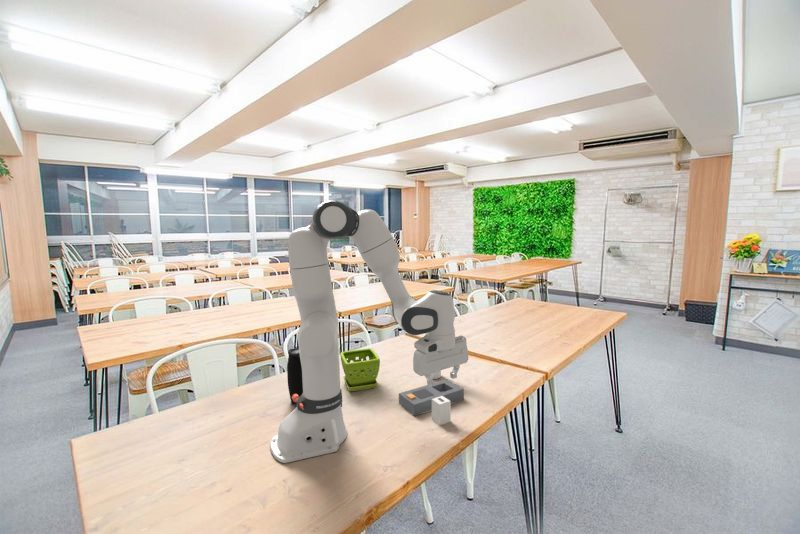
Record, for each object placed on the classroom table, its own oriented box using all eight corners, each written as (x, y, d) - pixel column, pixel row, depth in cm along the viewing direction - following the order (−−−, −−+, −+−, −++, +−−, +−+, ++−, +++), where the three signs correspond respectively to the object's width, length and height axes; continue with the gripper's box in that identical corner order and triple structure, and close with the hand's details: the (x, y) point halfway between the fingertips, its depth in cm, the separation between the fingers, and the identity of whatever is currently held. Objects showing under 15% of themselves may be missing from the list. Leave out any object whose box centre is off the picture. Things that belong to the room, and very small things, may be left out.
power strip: (414, 415, 122) (414, 403, 121) (398, 403, 130) (398, 391, 130) (463, 399, 133) (464, 387, 133) (446, 389, 142) (446, 377, 141)
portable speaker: (284, 403, 132) (281, 351, 130) (301, 393, 140) (299, 344, 138) (302, 408, 128) (299, 355, 126) (319, 397, 137) (316, 347, 134)
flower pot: (340, 380, 151) (339, 351, 150) (373, 376, 155) (372, 347, 154) (346, 395, 138) (345, 363, 137) (381, 389, 142) (380, 358, 141)
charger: (439, 425, 116) (439, 404, 115) (431, 419, 120) (431, 398, 119) (450, 421, 118) (450, 400, 118) (442, 415, 122) (442, 395, 121)
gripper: (459, 332, 124) (460, 370, 126) (409, 344, 114) (411, 386, 115) (472, 336, 119) (472, 376, 120) (421, 349, 108) (422, 393, 110)
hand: (442, 381), depth 118 cm, fingers open, 8 cm apart
